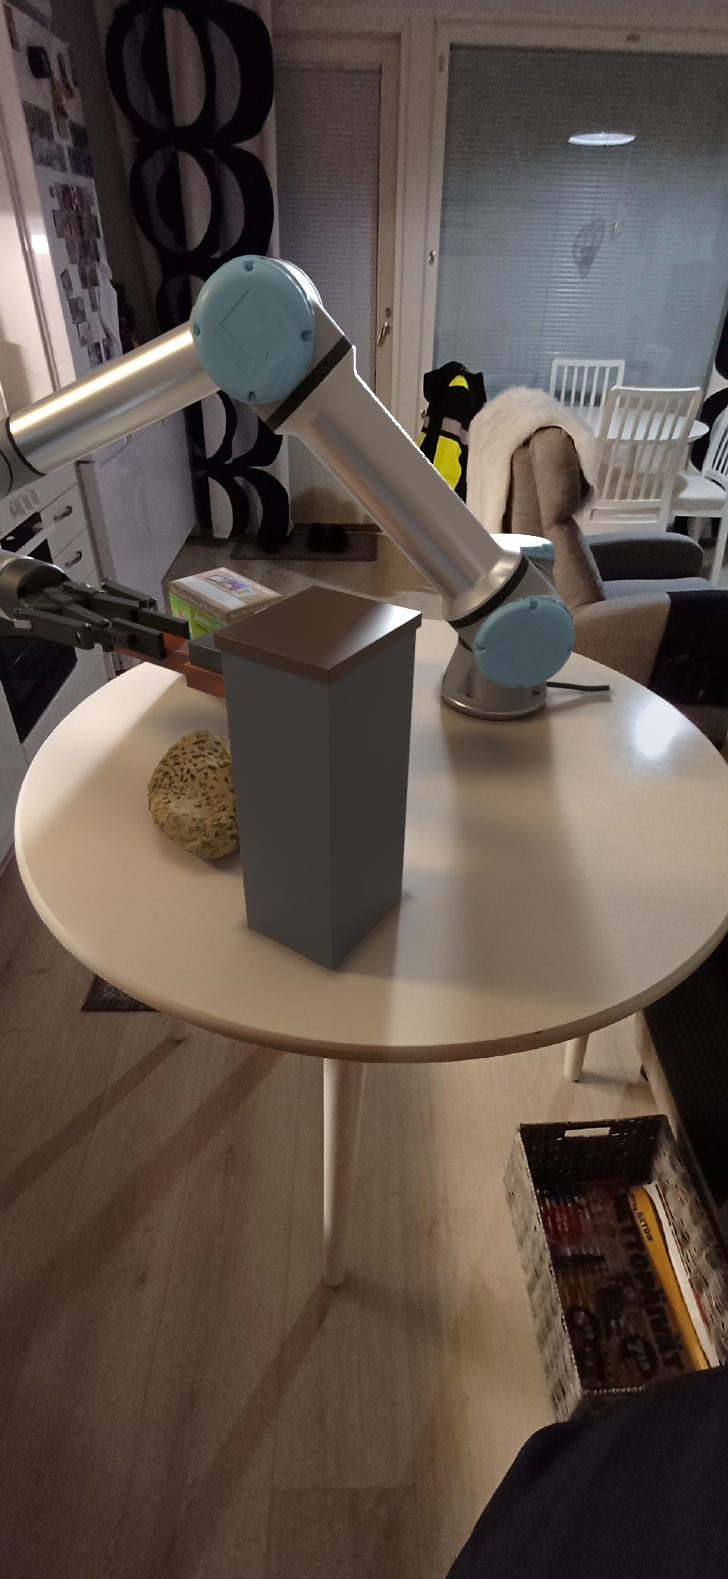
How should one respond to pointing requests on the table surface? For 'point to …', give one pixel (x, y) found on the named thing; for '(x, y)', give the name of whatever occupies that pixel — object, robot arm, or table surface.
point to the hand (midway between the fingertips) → (174, 640)
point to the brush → (190, 661)
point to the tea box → (217, 599)
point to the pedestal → (320, 764)
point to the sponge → (196, 795)
